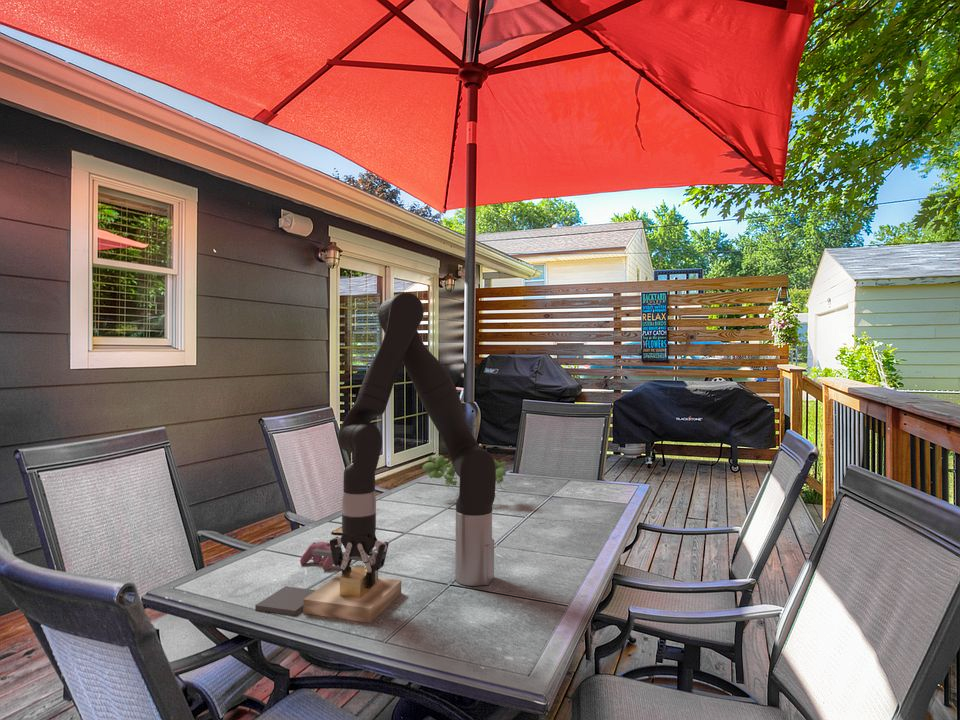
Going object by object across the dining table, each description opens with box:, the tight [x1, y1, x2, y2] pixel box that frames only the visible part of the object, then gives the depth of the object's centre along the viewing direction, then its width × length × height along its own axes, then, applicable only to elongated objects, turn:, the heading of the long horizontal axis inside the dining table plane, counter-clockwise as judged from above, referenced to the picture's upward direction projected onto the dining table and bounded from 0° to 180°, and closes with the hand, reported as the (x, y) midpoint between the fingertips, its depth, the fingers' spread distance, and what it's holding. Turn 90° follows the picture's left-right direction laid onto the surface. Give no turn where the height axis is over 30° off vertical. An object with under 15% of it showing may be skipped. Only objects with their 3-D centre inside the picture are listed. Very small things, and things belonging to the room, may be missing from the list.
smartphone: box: [331, 526, 343, 537], centre depth 185 cm, size 7×1×15 cm
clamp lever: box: [312, 549, 379, 579], centre depth 137 cm, size 18×3×6 cm, turn 72°
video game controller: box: [299, 541, 334, 572], centre depth 152 cm, size 10×5×7 cm, turn 60°
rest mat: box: [254, 585, 317, 616], centre depth 128 cm, size 10×11×1 cm
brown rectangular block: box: [340, 564, 377, 598], centre depth 128 cm, size 5×8×4 cm, turn 164°
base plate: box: [302, 572, 402, 624], centre depth 128 cm, size 16×16×3 cm
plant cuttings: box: [421, 455, 507, 498], centre depth 224 cm, size 35×17×22 cm
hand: (358, 585), depth 128 cm, fingers closed on brown rectangular block, 5 cm apart
